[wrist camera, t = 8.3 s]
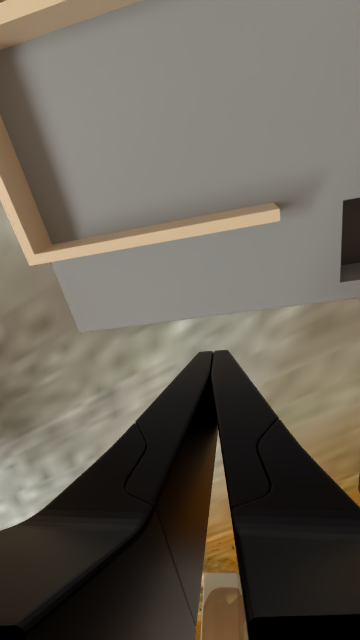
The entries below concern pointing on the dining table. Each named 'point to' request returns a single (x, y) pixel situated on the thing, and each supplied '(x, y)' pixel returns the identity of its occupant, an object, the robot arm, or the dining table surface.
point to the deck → (183, 153)
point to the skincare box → (223, 608)
